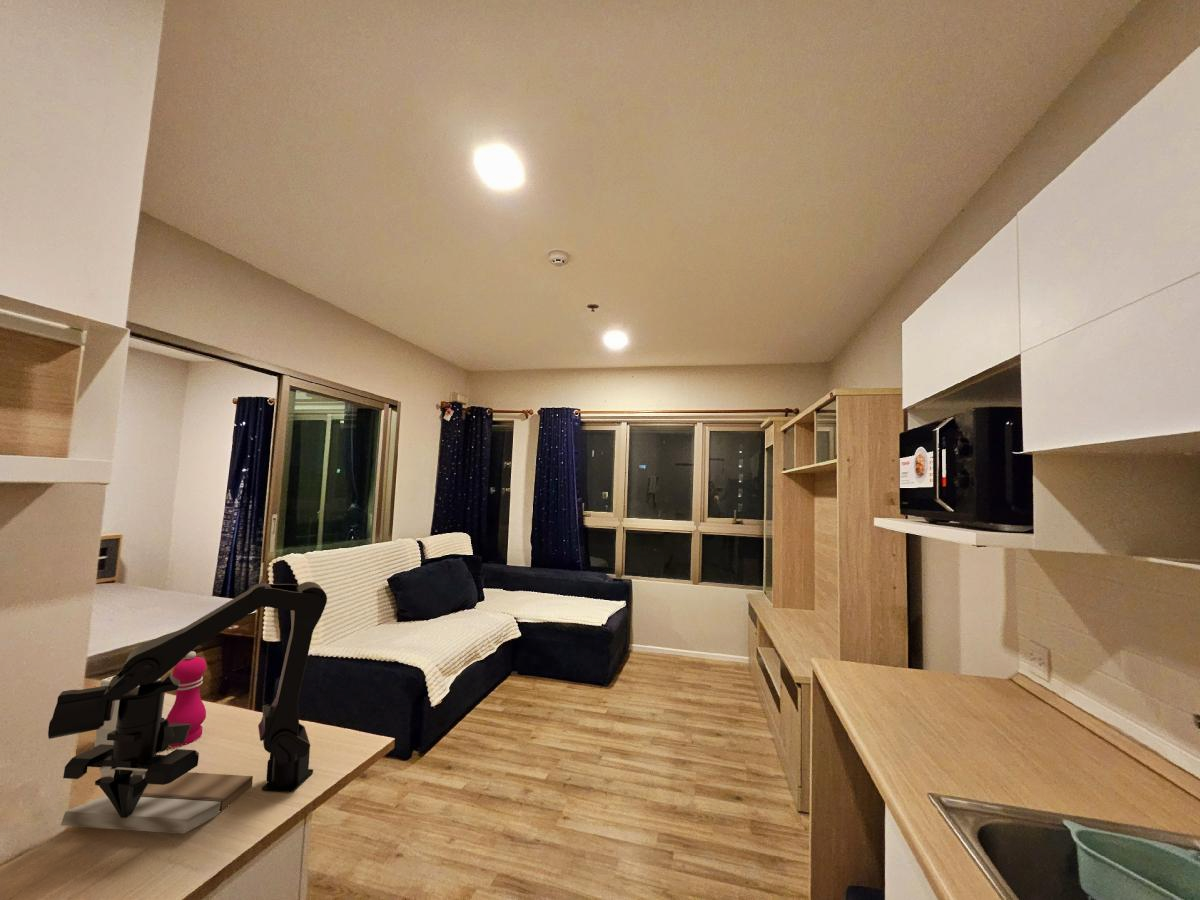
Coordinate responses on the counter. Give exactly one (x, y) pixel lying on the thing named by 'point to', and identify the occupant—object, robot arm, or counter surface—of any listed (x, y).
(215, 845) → the counter surface
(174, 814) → the grey plank
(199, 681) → the pepper mill
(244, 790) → the walnut plank
